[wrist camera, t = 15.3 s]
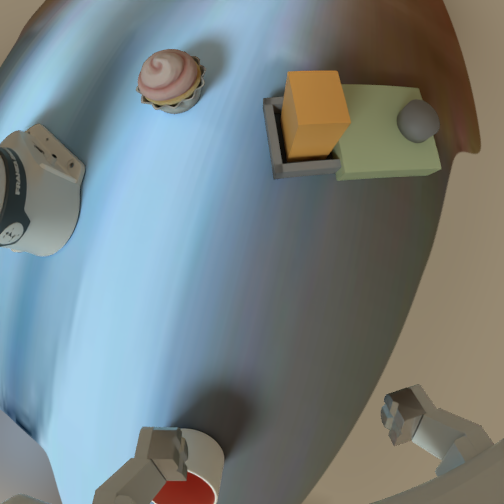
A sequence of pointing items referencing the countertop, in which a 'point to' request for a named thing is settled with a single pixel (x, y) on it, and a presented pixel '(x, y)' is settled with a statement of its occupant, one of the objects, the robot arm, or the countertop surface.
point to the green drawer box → (370, 136)
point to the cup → (196, 473)
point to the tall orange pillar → (313, 114)
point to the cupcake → (171, 81)
